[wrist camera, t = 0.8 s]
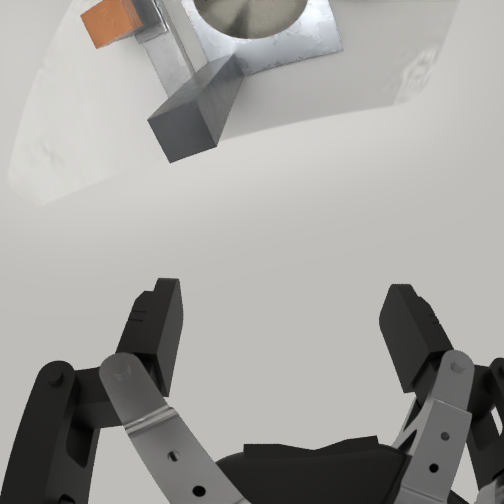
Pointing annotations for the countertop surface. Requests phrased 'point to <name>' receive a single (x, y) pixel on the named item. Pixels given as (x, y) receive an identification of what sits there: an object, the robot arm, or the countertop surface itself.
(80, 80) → the countertop surface
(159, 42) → the lever rail
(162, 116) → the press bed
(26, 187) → the countertop surface
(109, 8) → the lever
